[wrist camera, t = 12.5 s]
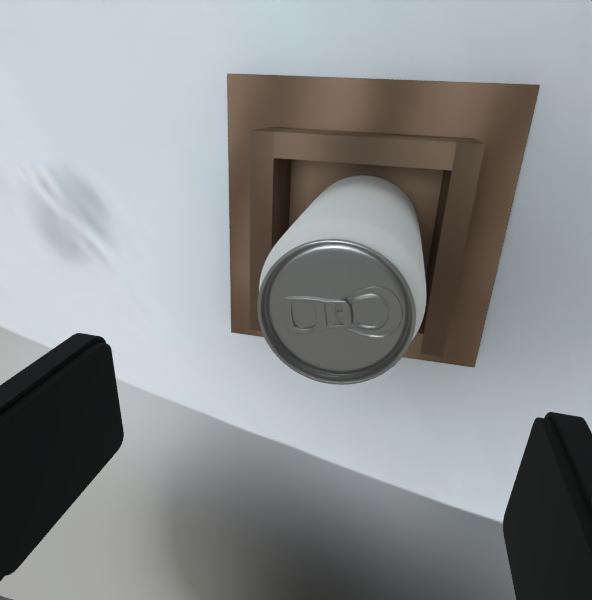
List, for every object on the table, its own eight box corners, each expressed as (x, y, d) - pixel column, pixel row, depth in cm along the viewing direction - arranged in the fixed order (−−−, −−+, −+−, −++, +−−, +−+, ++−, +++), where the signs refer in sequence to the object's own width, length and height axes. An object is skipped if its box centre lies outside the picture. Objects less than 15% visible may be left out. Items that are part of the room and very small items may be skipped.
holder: (533, 85, 23) (565, 81, 19) (471, 357, 30) (484, 404, 25) (234, 74, 26) (197, 68, 22) (237, 324, 33) (208, 361, 28)
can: (421, 279, 27) (432, 395, 16) (314, 284, 29) (261, 394, 18) (417, 167, 25) (426, 218, 14) (301, 179, 26) (230, 234, 16)
